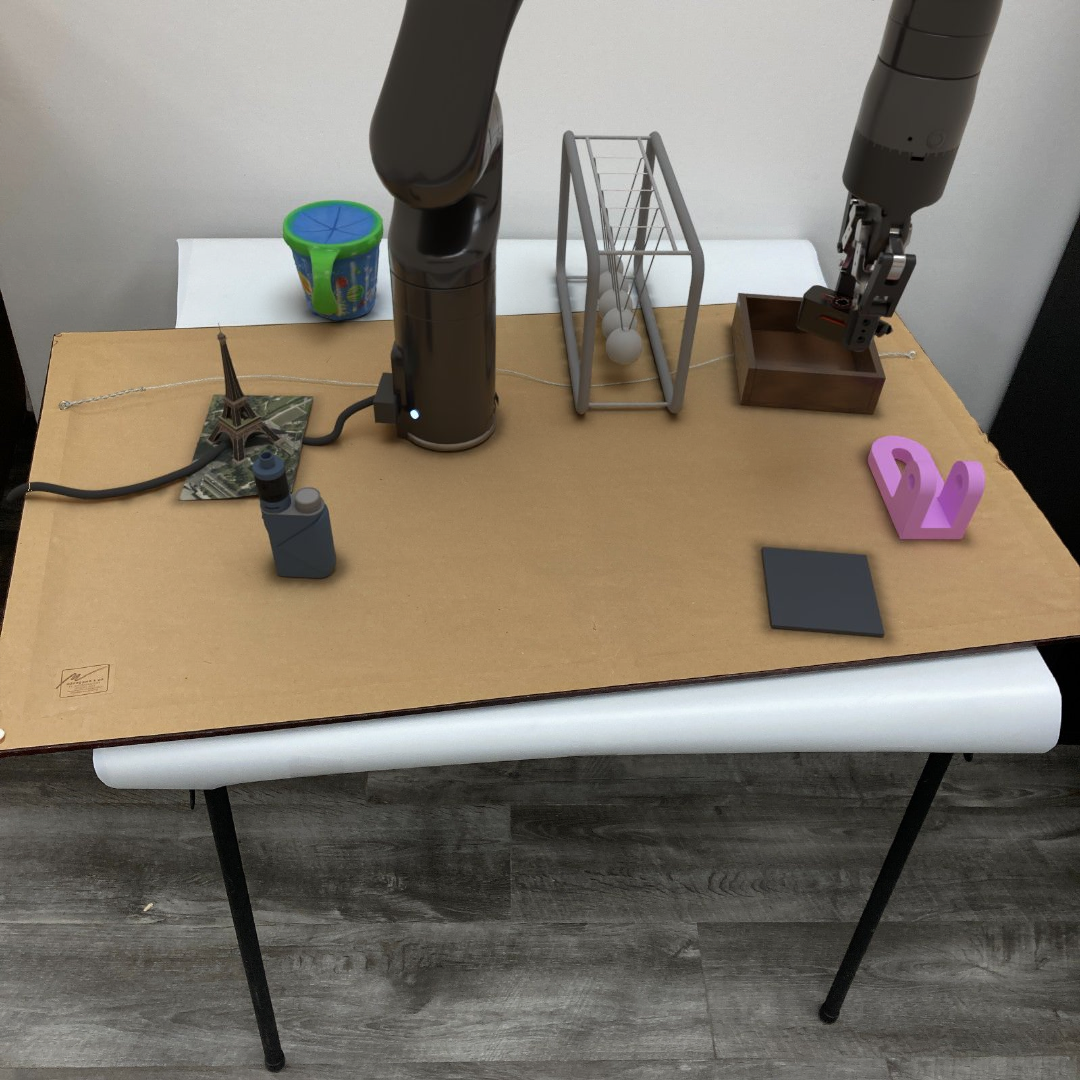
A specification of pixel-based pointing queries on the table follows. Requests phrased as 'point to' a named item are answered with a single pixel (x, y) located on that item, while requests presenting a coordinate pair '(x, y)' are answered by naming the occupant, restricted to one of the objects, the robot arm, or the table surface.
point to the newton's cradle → (609, 268)
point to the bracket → (925, 490)
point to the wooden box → (798, 361)
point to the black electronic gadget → (830, 315)
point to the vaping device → (294, 522)
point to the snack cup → (336, 255)
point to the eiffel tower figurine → (245, 437)
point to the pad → (821, 592)
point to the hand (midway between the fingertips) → (848, 329)
